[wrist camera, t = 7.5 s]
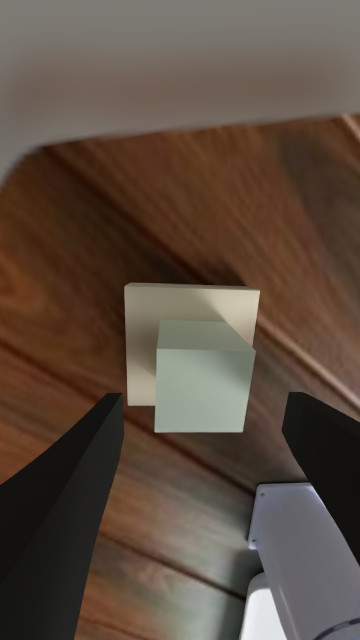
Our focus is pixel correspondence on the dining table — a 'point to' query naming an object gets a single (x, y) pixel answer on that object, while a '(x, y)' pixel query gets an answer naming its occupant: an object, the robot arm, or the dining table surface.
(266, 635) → the salad plate
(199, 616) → the dining table surface
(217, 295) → the birch base
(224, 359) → the sage block
